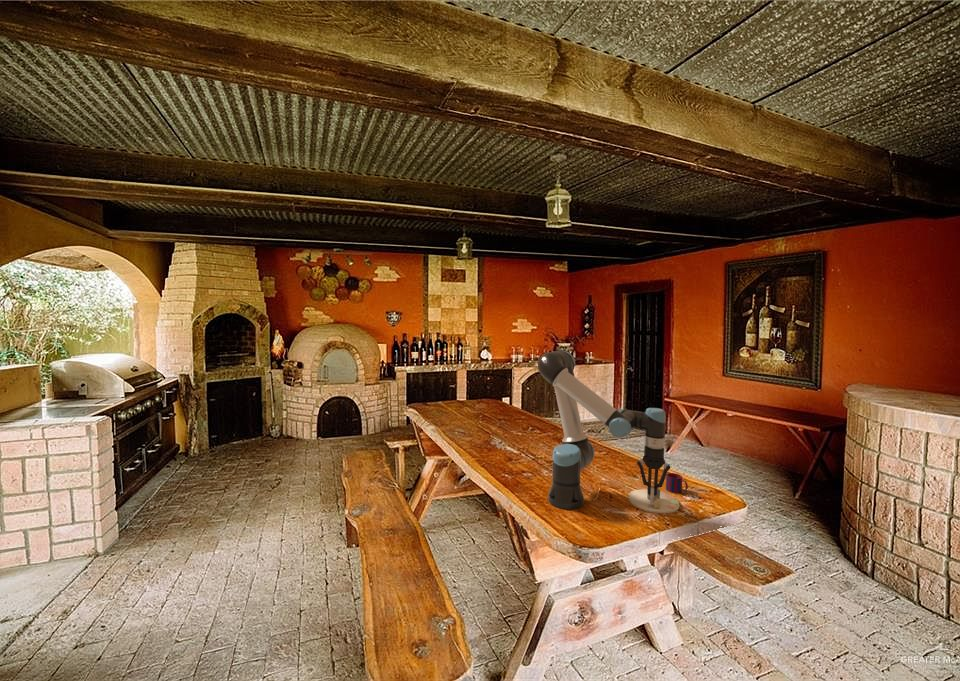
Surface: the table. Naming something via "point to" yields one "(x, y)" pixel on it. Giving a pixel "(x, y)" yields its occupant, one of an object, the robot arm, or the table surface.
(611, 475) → the table surface
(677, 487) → the mug
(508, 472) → the table surface
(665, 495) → the dial plate
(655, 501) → the needle
